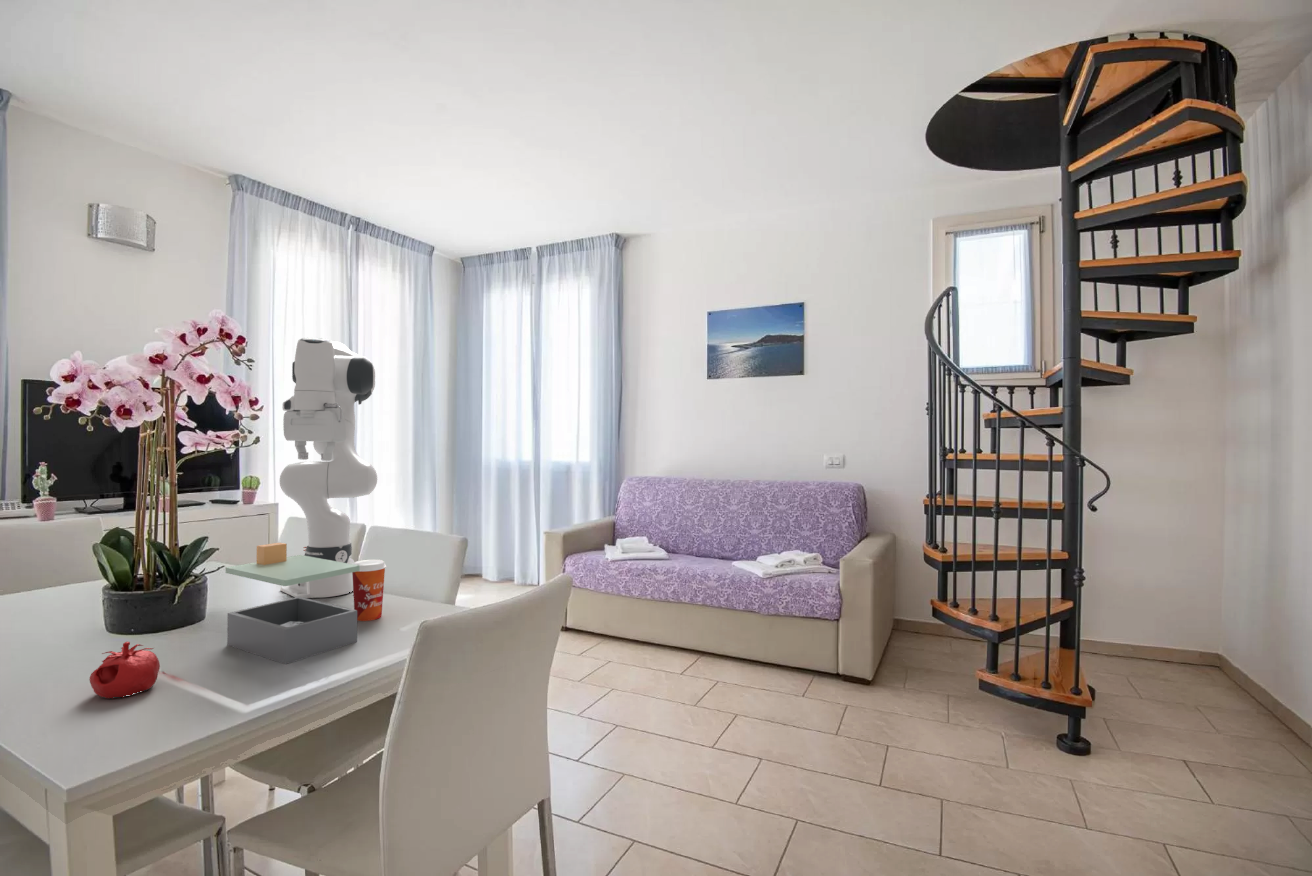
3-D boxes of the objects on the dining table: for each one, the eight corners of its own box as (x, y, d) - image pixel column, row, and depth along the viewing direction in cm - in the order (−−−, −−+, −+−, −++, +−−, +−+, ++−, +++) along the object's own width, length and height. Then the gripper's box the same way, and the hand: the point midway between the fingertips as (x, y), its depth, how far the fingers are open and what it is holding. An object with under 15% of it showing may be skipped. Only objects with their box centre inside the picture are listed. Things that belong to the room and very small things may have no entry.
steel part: (277, 639, 140) (277, 626, 140) (290, 634, 144) (290, 621, 144) (292, 640, 140) (292, 627, 140) (305, 635, 144) (305, 622, 144)
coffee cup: (360, 628, 152) (361, 567, 152) (344, 621, 157) (344, 562, 157) (392, 620, 159) (393, 561, 159) (376, 614, 164) (376, 557, 164)
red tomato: (152, 676, 122) (152, 629, 122) (166, 690, 115) (167, 640, 115) (84, 692, 114) (84, 642, 114) (95, 708, 108) (95, 655, 108)
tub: (227, 649, 137) (227, 613, 137) (299, 629, 151) (299, 596, 151) (285, 669, 126) (285, 629, 126) (357, 645, 140) (357, 610, 140)
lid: (225, 572, 137) (225, 549, 137) (300, 559, 151) (300, 538, 151) (284, 586, 125) (285, 560, 125) (359, 570, 140) (359, 547, 140)
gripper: (353, 403, 150) (353, 461, 150) (303, 404, 160) (302, 458, 160) (328, 402, 144) (328, 462, 145) (278, 403, 155) (277, 459, 155)
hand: (314, 460), depth 152 cm, fingers open, 8 cm apart
